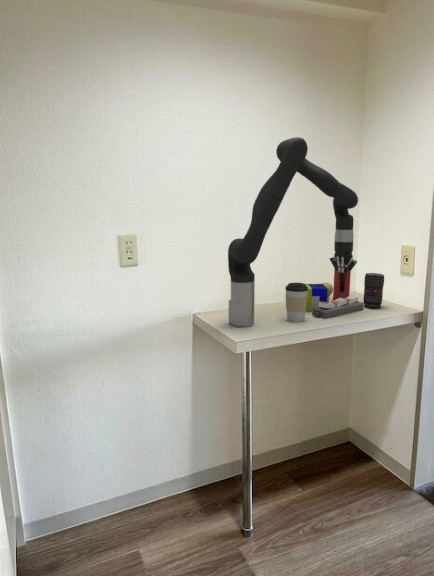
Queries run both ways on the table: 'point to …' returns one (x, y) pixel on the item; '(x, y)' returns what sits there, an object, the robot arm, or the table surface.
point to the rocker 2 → (339, 302)
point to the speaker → (341, 286)
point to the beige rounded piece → (330, 290)
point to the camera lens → (373, 290)
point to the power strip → (337, 310)
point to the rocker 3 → (351, 299)
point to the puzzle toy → (315, 295)
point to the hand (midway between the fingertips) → (342, 280)
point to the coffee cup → (296, 301)
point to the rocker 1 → (326, 305)
